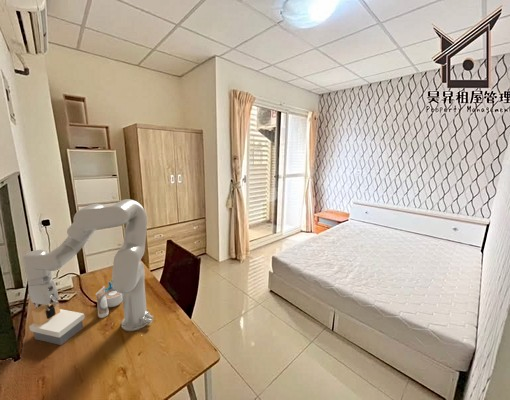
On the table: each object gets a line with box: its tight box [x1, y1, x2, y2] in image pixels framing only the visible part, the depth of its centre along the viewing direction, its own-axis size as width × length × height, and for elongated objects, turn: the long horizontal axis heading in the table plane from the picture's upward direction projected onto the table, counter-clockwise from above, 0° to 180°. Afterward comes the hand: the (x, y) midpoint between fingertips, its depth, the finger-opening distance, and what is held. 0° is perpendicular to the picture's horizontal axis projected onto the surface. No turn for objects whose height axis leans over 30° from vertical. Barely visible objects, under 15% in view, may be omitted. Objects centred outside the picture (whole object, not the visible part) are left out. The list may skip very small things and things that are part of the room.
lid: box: [28, 301, 85, 338], centre depth 101 cm, size 15×11×8 cm
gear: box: [105, 279, 114, 292], centre depth 132 cm, size 11×6×10 cm
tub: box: [33, 320, 84, 346], centre depth 102 cm, size 14×10×6 cm
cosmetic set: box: [95, 285, 123, 319], centre depth 121 cm, size 25×9×19 cm, turn 1°
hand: (47, 315), depth 102 cm, fingers closed on lid, 4 cm apart
